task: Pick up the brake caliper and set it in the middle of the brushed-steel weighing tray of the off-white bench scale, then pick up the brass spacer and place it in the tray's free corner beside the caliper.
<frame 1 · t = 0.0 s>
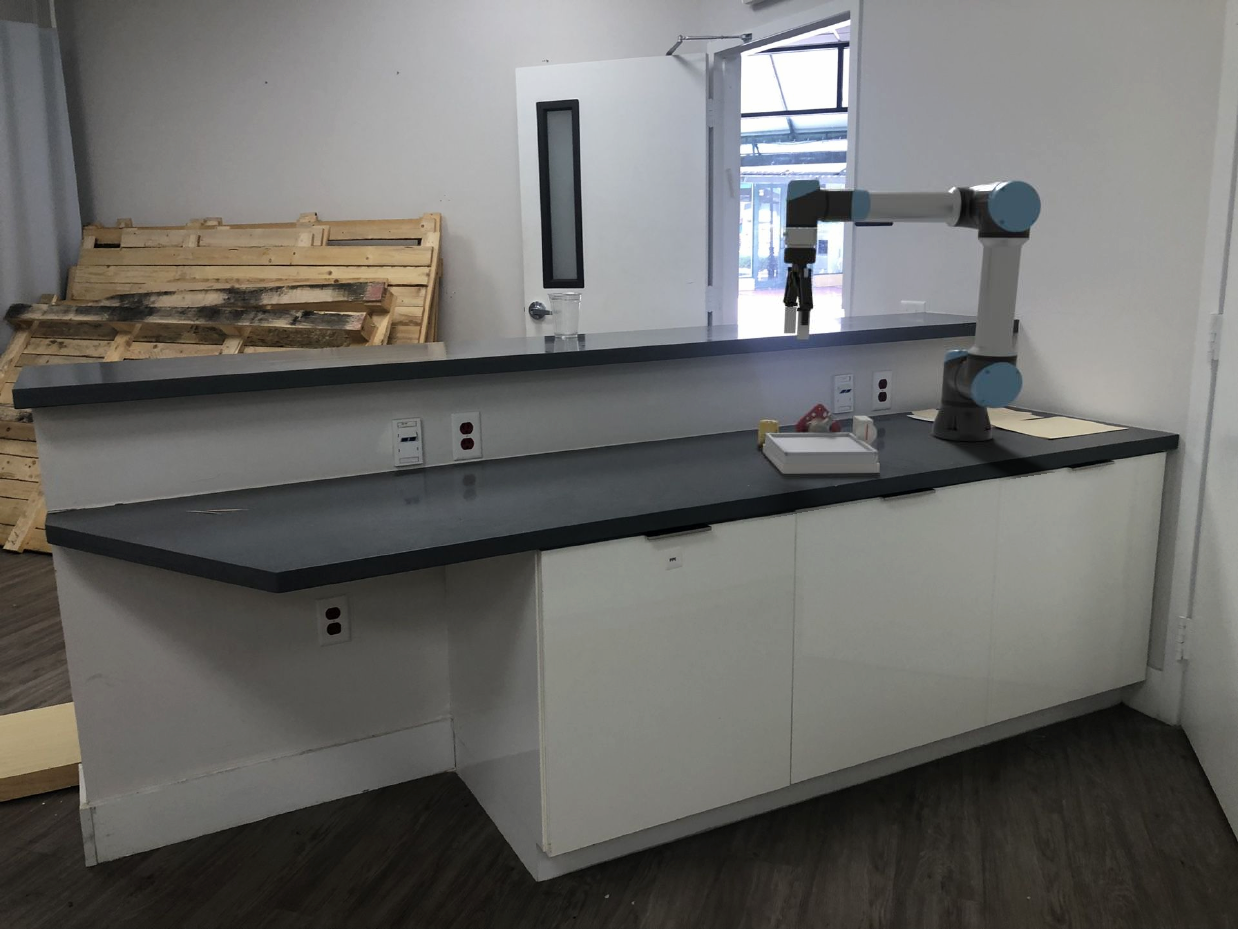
hand: (796, 336, 235), 28 cm above the worktop, fingers open, 13 cm apart
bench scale: (818, 461, 228), on the worktop
brake caliper: (817, 448, 243), on the worktop
brass spacer: (767, 445, 246), on the worktop
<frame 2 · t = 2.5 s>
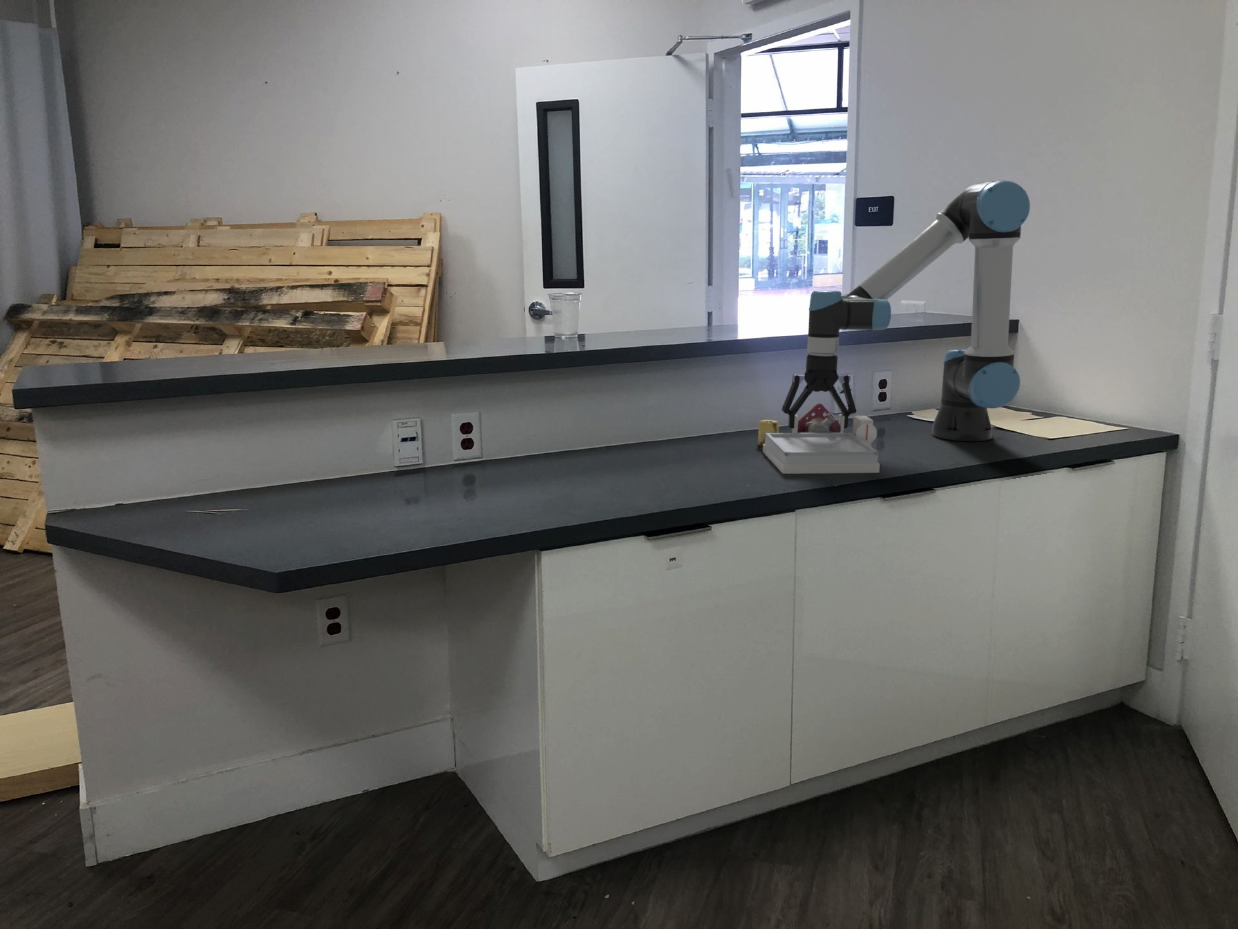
hand: (817, 440, 243), 2 cm above the worktop, fingers closed on brake caliper, 11 cm apart
brake caliper: (816, 448, 243), on the worktop, touching gripper
everything else where it was.
when the fingers open (7 cm above the worktop, at t = 8.2 s): brake caliper stays where it is, resting on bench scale.
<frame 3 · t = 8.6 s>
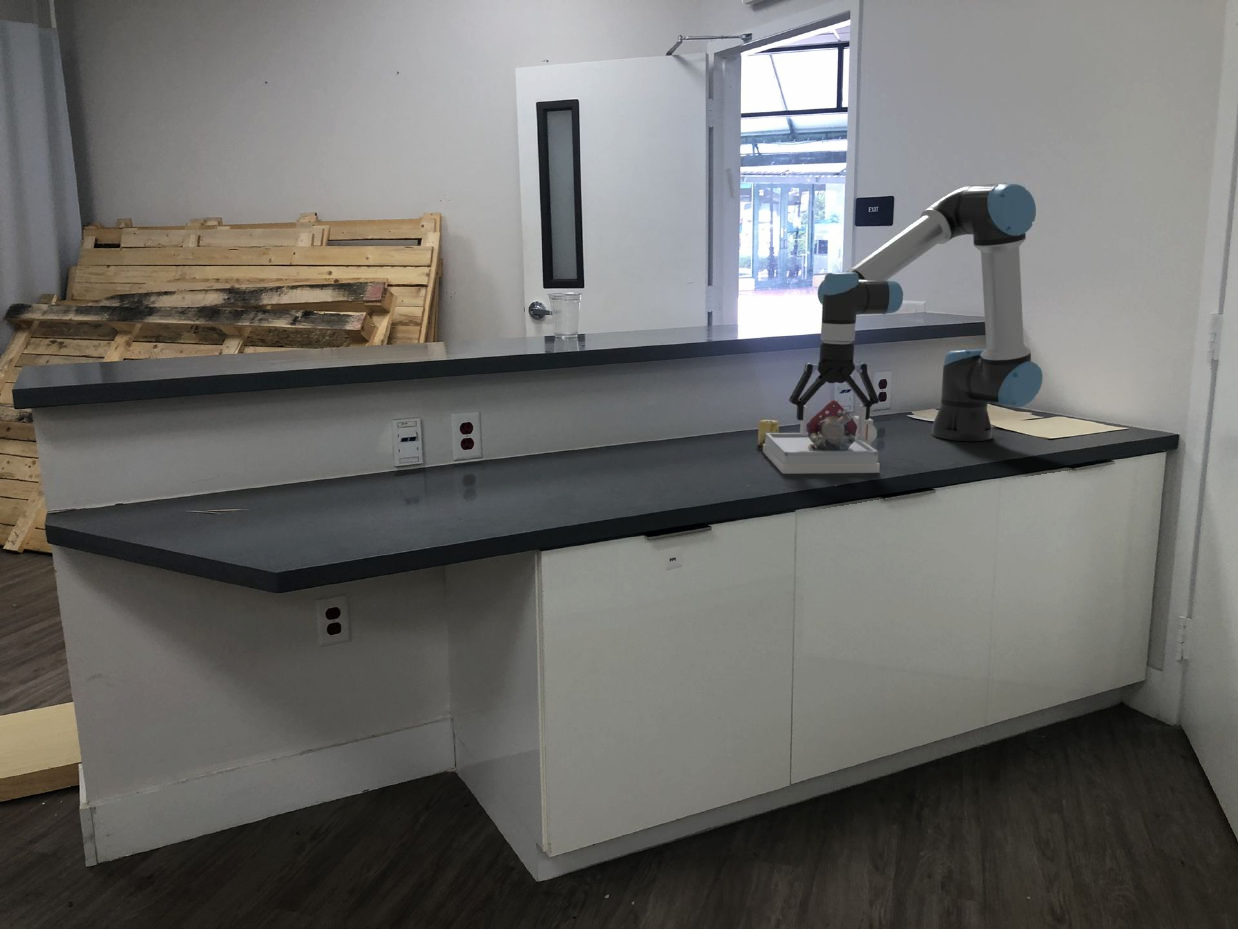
hand: (831, 434, 223), 7 cm above the worktop, fingers open, 13 cm apart
brake caliper: (831, 449, 224), point 4 cm above the worktop, touching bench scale
everything else where it was.
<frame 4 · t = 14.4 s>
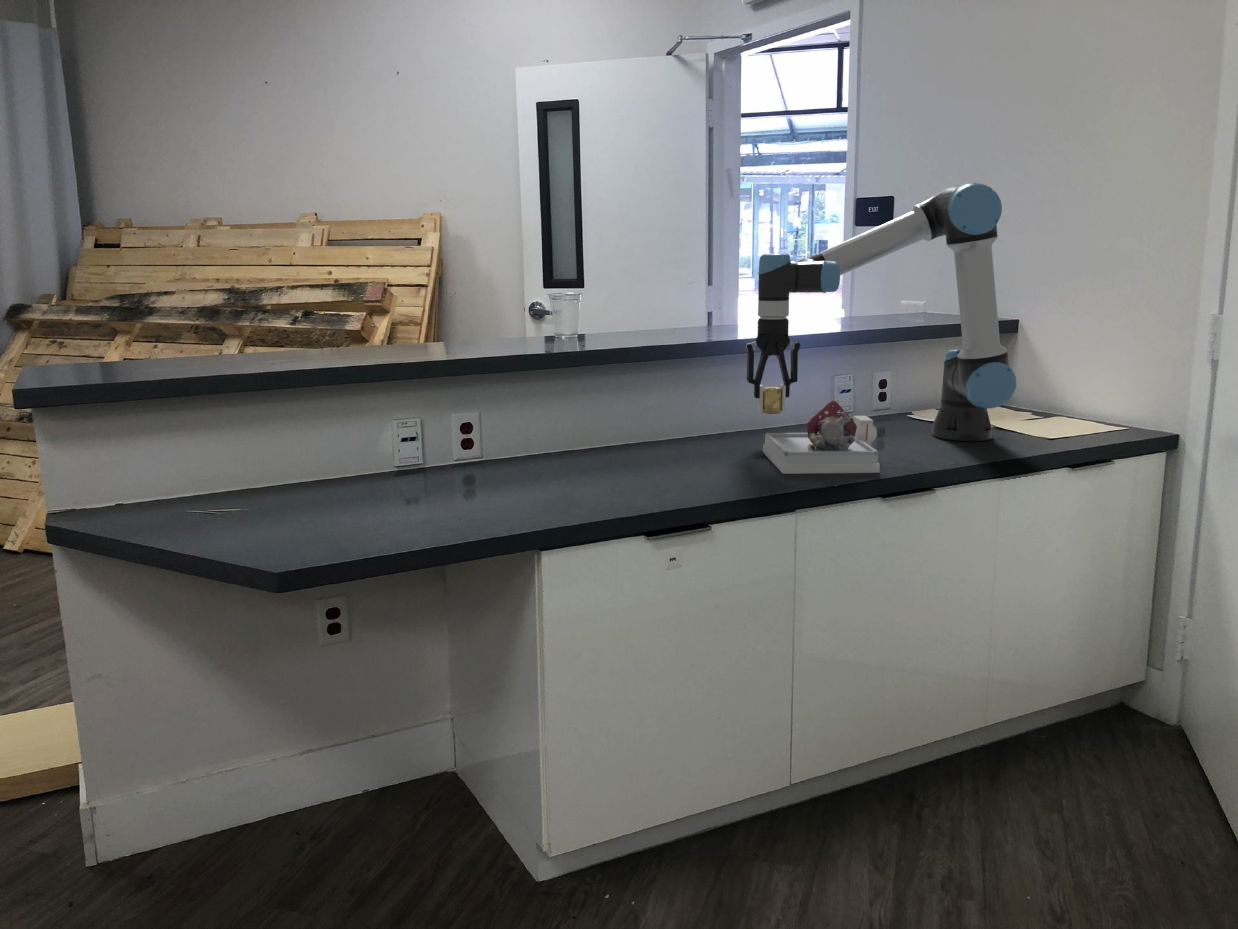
hand: (771, 410, 244), 9 cm above the worktop, fingers closed on brass spacer, 5 cm apart
brass spacer: (771, 412, 244), point 8 cm above the worktop, touching gripper
everything else where it was.
when the fingers open (5 cm above the worktop, at t = 17.2 s): brass spacer stays where it is, resting on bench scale.
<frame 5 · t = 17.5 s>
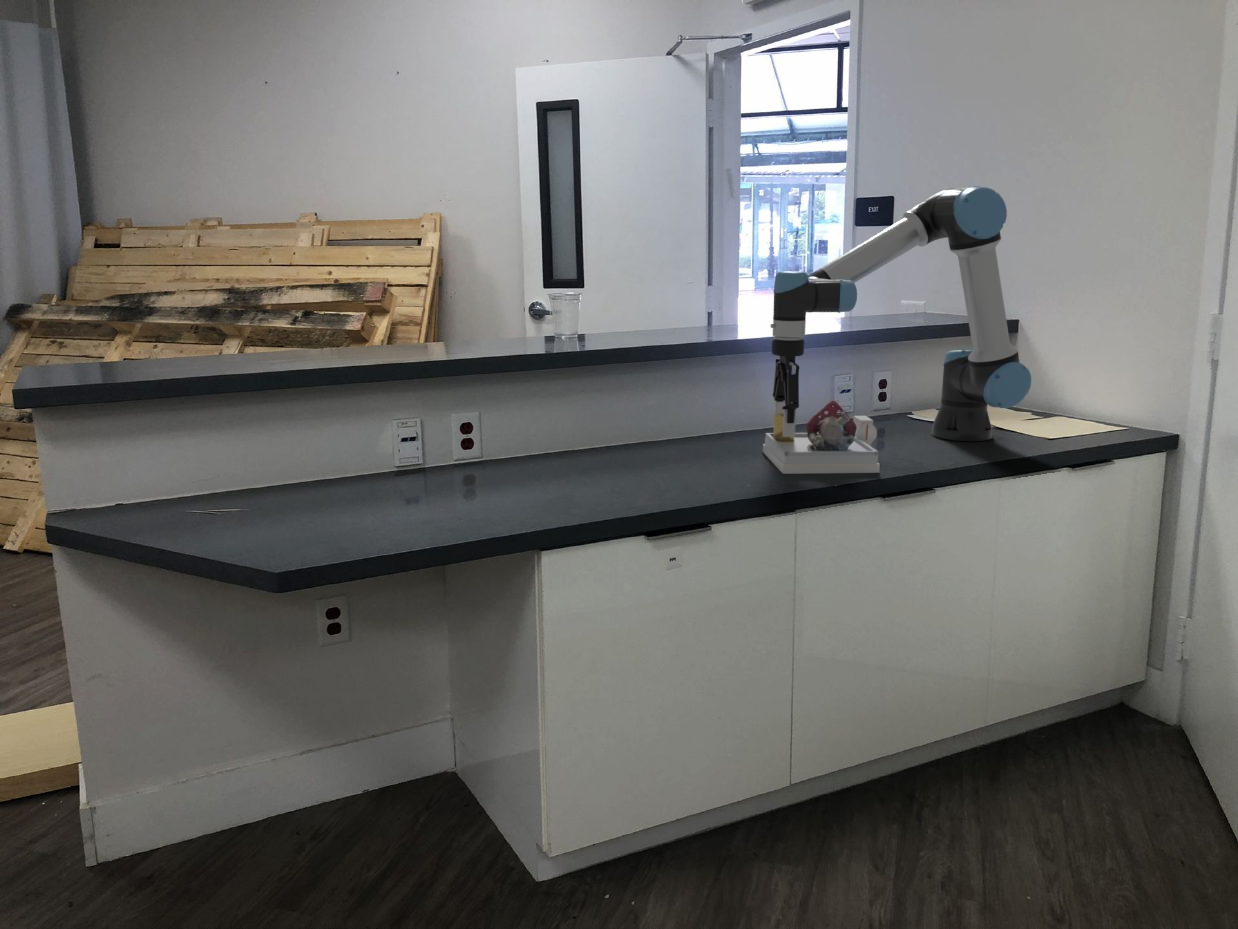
hand: (783, 431, 232), 6 cm above the worktop, fingers open, 9 cm apart
brass spacer: (783, 439, 233), point 4 cm above the worktop, touching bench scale
everything else where it was.
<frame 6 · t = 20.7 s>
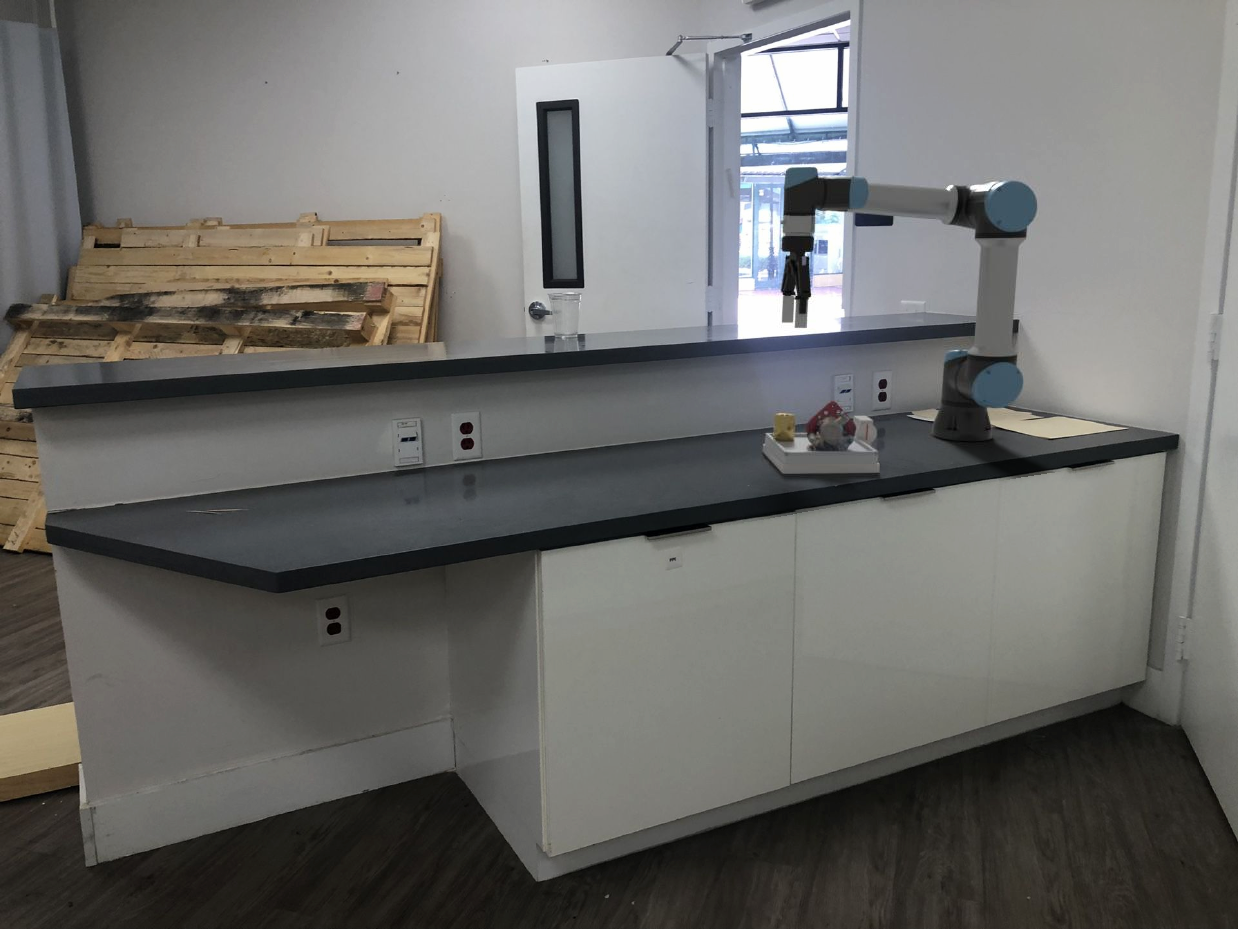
hand: (793, 325, 234), 31 cm above the worktop, fingers open, 13 cm apart
nothing on the worktop moved.
at the end: brake caliper inside the target area on the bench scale (4.1 cm from its centre), point 3.8 cm above the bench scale's base; brass spacer inside the target area on the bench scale (9.6 cm from its centre), point 4.0 cm above the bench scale's base; brass spacer tilted 0° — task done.
